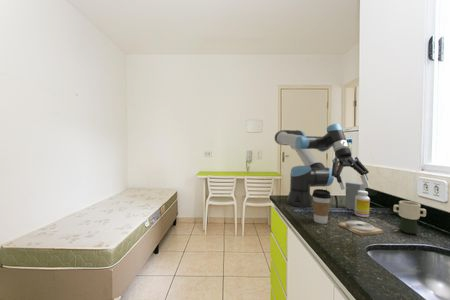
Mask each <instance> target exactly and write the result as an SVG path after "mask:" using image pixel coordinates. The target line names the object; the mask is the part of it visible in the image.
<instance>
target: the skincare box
mask: <svg viewBox="0 0 450 300" xmlns="http://www.w3.org/2000/svg"><path fill="white" fill-rule="evenodd" d="M345 186H346V188H345V208H346V207H347V208H350V209H349V210H351V209H353V210H352V211H355V196H356V195H358V191H359V190H361V191H366V188H365V187H364V185H363V182H359V181H351V180H349V181H346V182H345ZM347 208H346V209H347Z"/></svg>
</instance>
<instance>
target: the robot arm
mask: <svg viewBox="0 0 450 300" xmlns="http://www.w3.org/2000/svg"><path fill="white" fill-rule="evenodd" d="M326 132H327V133H326V134H324V135H323V136H312V135H310V136H309V135H306V133H305V132H304V131H303V130H297V129H296V130H289V129H288V130H287V129H283V130H279V131H277V132H276V133H275V134H274V141H275V143H276V144H277V145H280V146H290V148H291V149H292V150H294V151H295V152H296V154H297V155H298V157H299V159H300V160H301V162H302V163H303V165H296V166H293V167H292V168H291V169H290V180H289V181H290V182H289V183H290V184H289V192H288V195H287V198H286V203H287V204H288V205H290V206H293V207H299V208H309V207H308V206H311V205H312V206H313V197H312V195H311V188H313V187H314V188H315V187H317V188H318V187H319V188H320V187H322V188H325V187H330V186H331V185H332V184H333V182H334V179H336V181H337V183H338V184H339V187H340V190H346V182H345V180H344V178H343V175H341V174H342V171H343V169H344V167H347V168H348V167H350V168H351V169H353V170H354V171H355V172H357V173H358V174H359V175H360V179H361V181H362V182H361V183H363V185H364V187H365V189H367V188H370V187H371V186H370V183H369V179H368V178H369V177H368V176H367V174H369V173H370V171H369V170H368V169H367V168H366V167H365V165H364V164H363V163H362V162H361V161H360V159H359V158H358V157H357V156H355V157H353V156H352V155H353V154H352V151H351V148H350V146H349V144H348V141H347V139H346V136H345V134H344V130H343V128H342V126H341V124H340V123H332V124H330V125H328V126H327V127H326ZM331 148H332V149H333V152H334V155H335V157H334V158H333V159H332V167H326V166H325V165H324V164H323V163H322V162H320V161H319V160H318V159H317V157H316V156H315V155H314V154H313V152H312V150H317V151H319V152H321V153H322V152H323V153H324V152H326V151H328V150H330V149H331ZM312 206H311V207H312Z"/></svg>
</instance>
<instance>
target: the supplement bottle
mask: <svg viewBox="0 0 450 300" xmlns="http://www.w3.org/2000/svg"><path fill="white" fill-rule="evenodd" d="M368 195H369V192H368V191H366V190H365V191H361V190H359V191H358V195H356V196H355V210H354V214H355V215H356V216H357V217H361V218H369V216H370V206H371V205H370V203H371V198H370V197H369V196H368Z"/></svg>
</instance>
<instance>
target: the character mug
mask: <svg viewBox="0 0 450 300" xmlns="http://www.w3.org/2000/svg"><path fill="white" fill-rule="evenodd" d="M421 206H422V205H421V204H420V203H419V202H415V201H410V200H399V201H398V204H394V205H393V212H394V213H398V215H399V216H400V217H401V218H400V223H399V226H398V229H399V230H400V231H402V232H404V233H407V234H411V235H412V234H413V235H414V234H418V231H419V230H418V222H417V220H419V219H420V217H423V218H424V217H426V216H427V209H425V208H421ZM397 208H398V210H397ZM421 212H422V213H421Z"/></svg>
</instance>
